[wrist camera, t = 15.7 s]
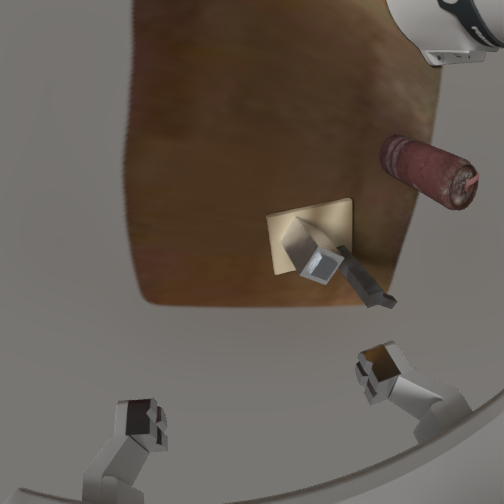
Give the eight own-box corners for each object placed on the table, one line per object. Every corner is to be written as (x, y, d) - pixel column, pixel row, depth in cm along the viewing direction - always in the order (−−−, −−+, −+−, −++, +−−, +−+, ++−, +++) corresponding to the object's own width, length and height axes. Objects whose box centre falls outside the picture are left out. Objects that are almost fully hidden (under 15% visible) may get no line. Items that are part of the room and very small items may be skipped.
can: (417, 155, 38) (486, 188, 26) (390, 182, 40) (456, 223, 28) (399, 124, 35) (473, 149, 23) (371, 152, 37) (440, 186, 25)
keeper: (357, 196, 40) (407, 235, 30) (356, 259, 45) (396, 307, 35) (266, 215, 39) (295, 265, 28) (275, 280, 44) (300, 338, 34)
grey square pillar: (295, 216, 39) (320, 248, 31) (318, 227, 40) (347, 260, 33) (280, 241, 40) (301, 278, 33) (303, 251, 42) (327, 287, 34)
